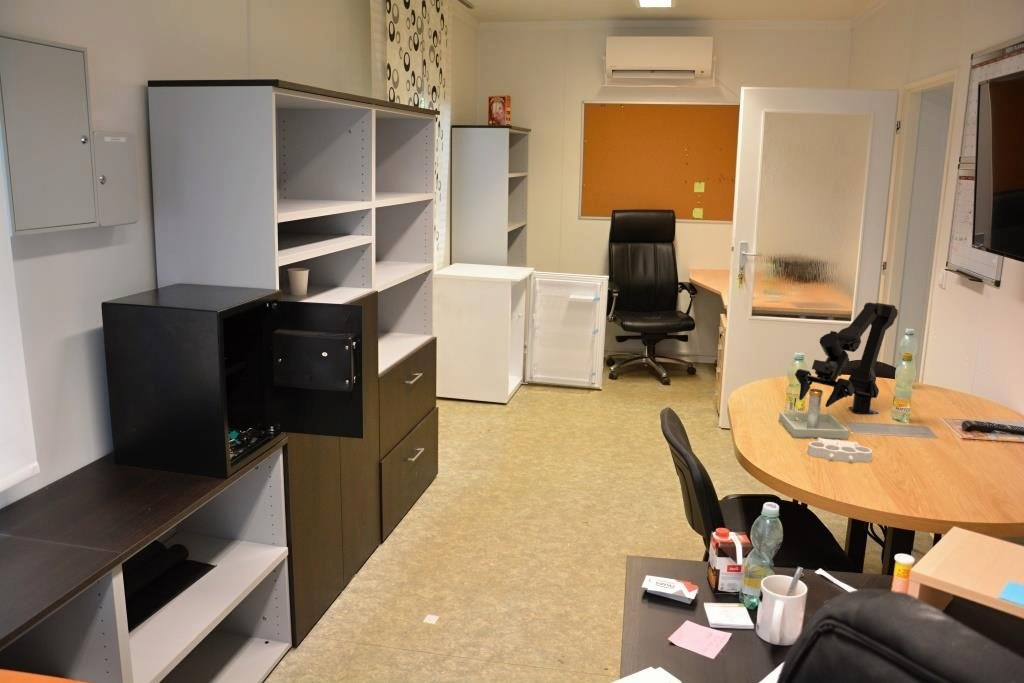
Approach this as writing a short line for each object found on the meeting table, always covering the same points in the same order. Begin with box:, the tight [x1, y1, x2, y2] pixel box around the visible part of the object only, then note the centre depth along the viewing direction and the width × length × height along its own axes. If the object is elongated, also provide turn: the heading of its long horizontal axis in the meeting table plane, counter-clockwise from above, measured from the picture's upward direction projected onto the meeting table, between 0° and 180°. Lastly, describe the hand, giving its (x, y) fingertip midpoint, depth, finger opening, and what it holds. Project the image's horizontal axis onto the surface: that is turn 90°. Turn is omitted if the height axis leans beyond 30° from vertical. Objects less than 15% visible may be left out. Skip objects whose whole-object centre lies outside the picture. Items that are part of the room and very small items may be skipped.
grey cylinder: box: [807, 388, 824, 429], centre depth 265 cm, size 4×4×13 cm
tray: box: [778, 411, 850, 440], centre depth 267 cm, size 17×17×3 cm
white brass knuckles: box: [806, 438, 873, 464], centre depth 245 cm, size 3×18×15 cm
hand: (812, 403), depth 264 cm, fingers open, 9 cm apart
